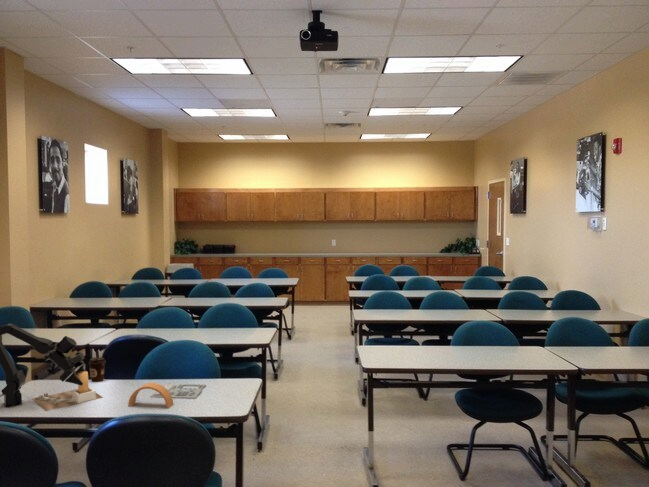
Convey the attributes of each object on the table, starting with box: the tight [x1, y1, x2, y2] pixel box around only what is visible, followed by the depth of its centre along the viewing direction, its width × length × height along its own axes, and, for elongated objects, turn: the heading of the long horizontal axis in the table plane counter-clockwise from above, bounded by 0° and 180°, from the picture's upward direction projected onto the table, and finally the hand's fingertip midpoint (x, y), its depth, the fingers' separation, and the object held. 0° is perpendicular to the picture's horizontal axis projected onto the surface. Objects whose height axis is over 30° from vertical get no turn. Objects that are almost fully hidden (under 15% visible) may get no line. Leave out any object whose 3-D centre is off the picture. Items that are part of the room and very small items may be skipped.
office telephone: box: [149, 383, 207, 400], centre depth 266 cm, size 23×3×20 cm
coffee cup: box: [88, 357, 107, 383], centre depth 281 cm, size 9×8×13 cm
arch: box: [127, 382, 174, 409], centre depth 247 cm, size 6×20×10 cm, turn 82°
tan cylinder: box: [77, 370, 90, 394], centre depth 252 cm, size 4×4×12 cm
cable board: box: [31, 388, 104, 412], centre depth 254 cm, size 26×22×4 cm
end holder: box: [72, 386, 97, 404], centre depth 253 cm, size 8×8×4 cm
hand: (85, 381), depth 253 cm, fingers open, 9 cm apart
